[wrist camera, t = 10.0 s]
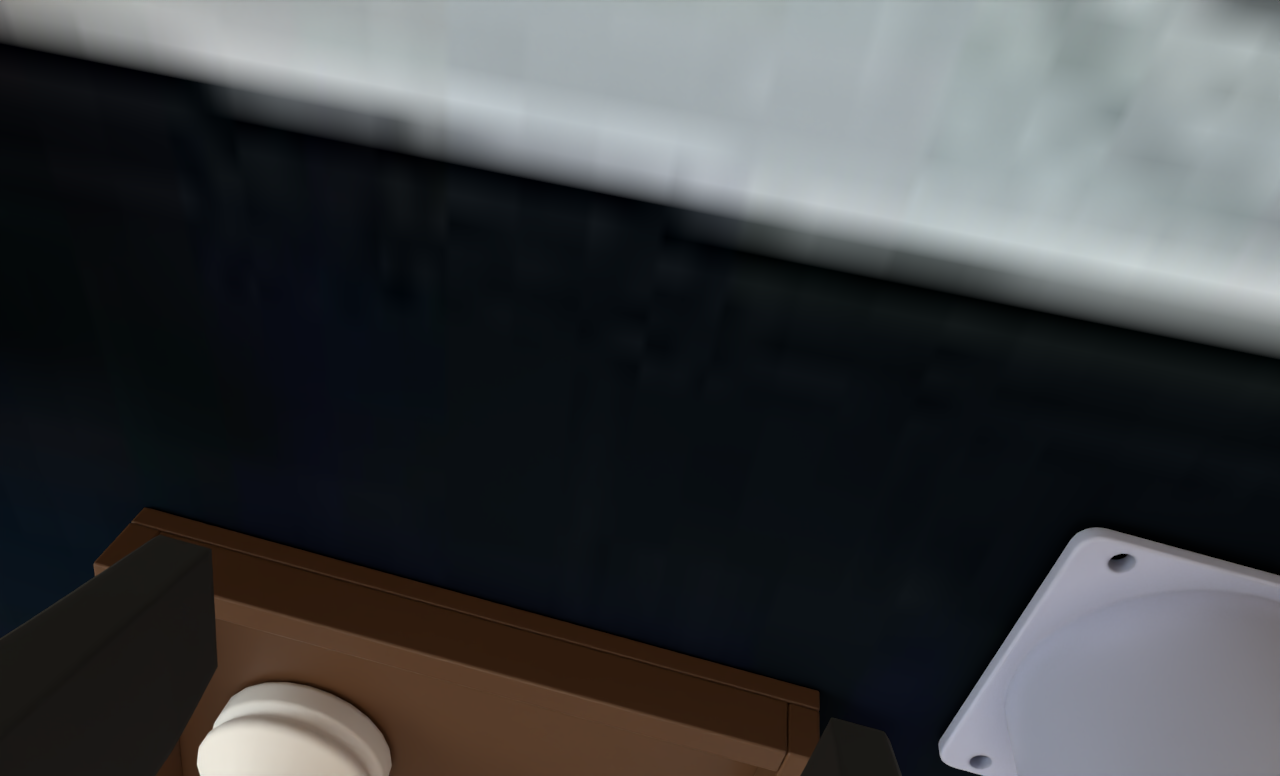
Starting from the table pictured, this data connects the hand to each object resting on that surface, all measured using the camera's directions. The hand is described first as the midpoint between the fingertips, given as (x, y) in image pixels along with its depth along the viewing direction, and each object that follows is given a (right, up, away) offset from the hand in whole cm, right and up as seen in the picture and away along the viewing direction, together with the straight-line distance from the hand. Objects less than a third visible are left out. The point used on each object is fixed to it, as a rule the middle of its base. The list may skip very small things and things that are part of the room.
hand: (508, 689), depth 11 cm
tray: (-4, -7, +17) cm, 19 cm away
